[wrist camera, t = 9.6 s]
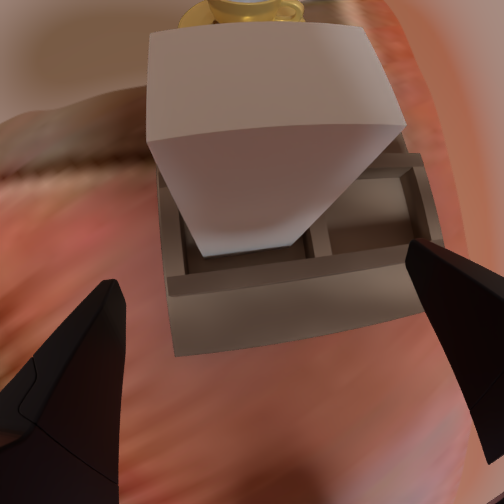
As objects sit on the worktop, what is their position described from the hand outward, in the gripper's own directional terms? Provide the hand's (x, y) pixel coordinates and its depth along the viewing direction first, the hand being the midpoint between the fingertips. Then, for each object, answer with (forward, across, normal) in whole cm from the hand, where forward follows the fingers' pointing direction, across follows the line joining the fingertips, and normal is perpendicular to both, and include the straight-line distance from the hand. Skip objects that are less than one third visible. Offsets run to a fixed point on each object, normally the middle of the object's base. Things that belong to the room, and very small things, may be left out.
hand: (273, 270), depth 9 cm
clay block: (+10, 0, +4) cm, 10 cm away
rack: (+10, -4, +5) cm, 12 cm away
